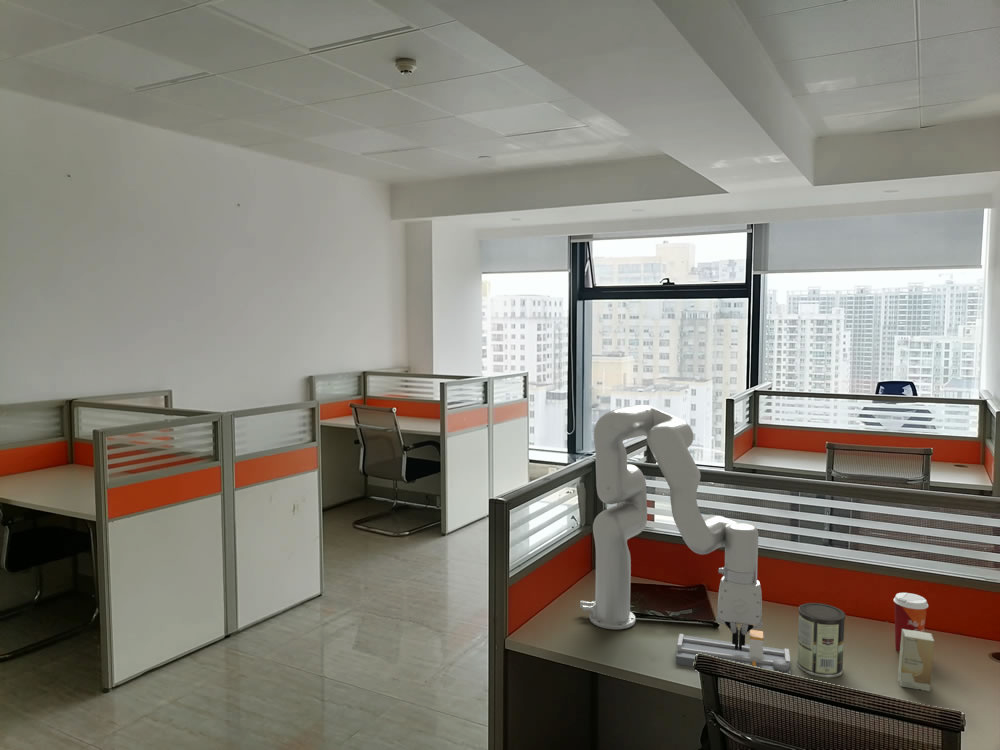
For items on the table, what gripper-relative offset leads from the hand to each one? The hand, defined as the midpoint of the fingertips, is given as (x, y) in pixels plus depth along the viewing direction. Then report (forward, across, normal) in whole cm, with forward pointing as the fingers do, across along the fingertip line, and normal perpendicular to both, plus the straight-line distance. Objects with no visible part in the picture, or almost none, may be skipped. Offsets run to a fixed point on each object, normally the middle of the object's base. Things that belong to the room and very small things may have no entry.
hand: (738, 647), depth 180 cm
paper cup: (+4, +41, +20) cm, 45 cm away
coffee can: (+4, +19, +4) cm, 19 cm away
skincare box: (+4, +39, +2) cm, 39 cm away
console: (+4, -1, 0) cm, 4 cm away
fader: (+2, +4, 0) cm, 4 cm away
